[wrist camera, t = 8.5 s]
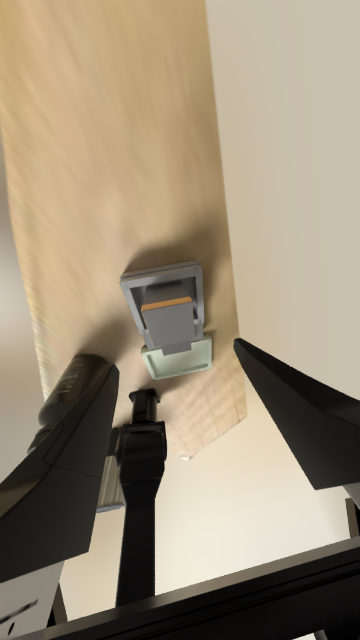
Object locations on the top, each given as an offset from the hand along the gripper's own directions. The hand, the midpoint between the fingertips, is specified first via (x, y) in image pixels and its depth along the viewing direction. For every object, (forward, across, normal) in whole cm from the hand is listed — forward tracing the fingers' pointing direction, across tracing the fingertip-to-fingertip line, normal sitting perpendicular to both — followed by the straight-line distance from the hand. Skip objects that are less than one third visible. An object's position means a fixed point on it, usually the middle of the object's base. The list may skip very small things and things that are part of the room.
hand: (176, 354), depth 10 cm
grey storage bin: (+12, 0, +2) cm, 12 cm away
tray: (+12, 0, +14) cm, 18 cm away
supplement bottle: (+12, +17, +12) cm, 23 cm away
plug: (+10, 0, 0) cm, 10 cm away
